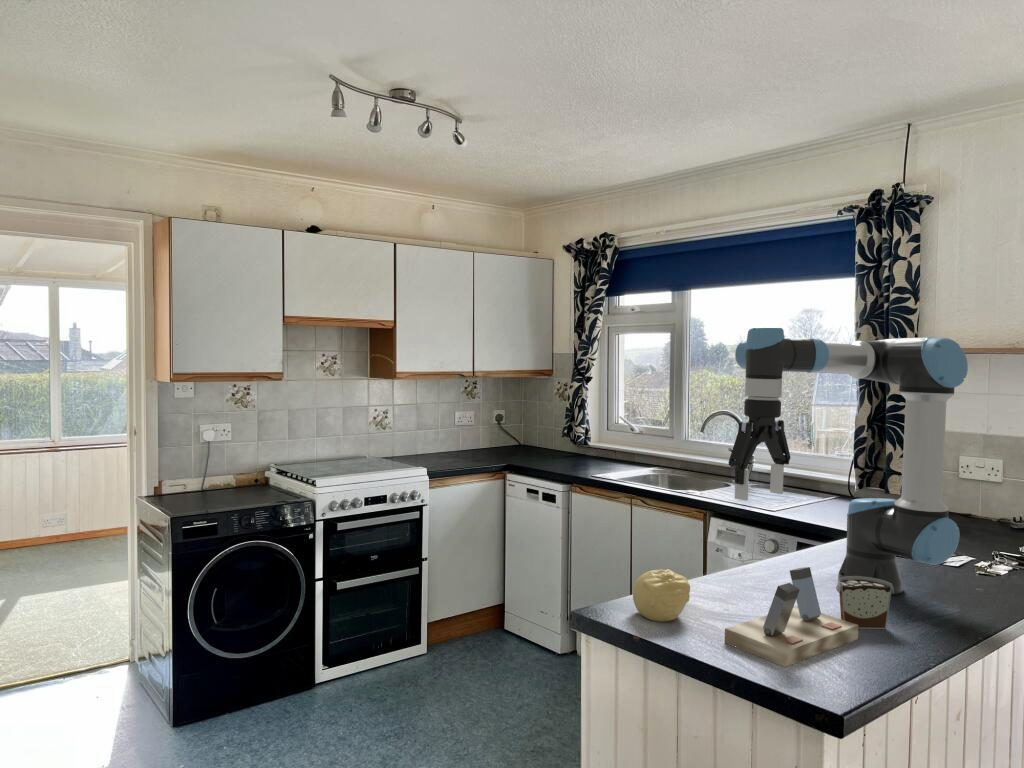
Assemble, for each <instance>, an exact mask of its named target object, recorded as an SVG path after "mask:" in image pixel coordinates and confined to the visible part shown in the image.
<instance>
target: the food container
mask: <svg viewBox="0 0 1024 768" xmlns="http://www.w3.org/2000/svg"><path fill="white" fill-rule="evenodd" d="M835 589H836V592H838V593H839V594H838V595H839V606H840V608H839V609H840V619H842V620H845V621H848V622H851V623H854V624H857V625H859V629H860V630H866V629H867V630H872V629H873V630H886V629H887V624H888V617H889V612H890V611H889V610H890V603H891V597H892V595H891V592H892V593H894V589H893V587H892V584H891V583H889V582H886V581H883V580H880V579H875V578H870V577H862V576H846V577H842V578H840V579H839V581H838V580H837V583H836V587H835ZM859 629H858V630H859Z"/></svg>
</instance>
